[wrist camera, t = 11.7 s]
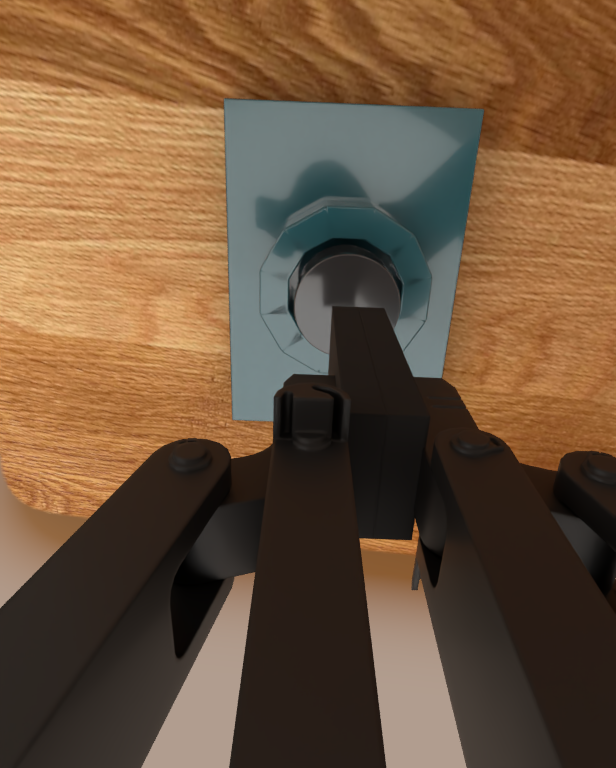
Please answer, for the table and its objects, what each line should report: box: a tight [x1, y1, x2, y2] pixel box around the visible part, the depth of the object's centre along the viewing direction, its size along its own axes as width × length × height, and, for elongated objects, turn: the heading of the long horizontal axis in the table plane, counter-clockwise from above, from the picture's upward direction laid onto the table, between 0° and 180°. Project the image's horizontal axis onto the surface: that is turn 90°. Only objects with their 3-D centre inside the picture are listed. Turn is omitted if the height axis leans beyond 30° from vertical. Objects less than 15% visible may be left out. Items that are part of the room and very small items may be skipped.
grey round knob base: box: [224, 98, 484, 422], centre depth 23 cm, size 14×10×4 cm
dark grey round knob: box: [294, 244, 400, 354], centre depth 21 cm, size 4×4×2 cm
